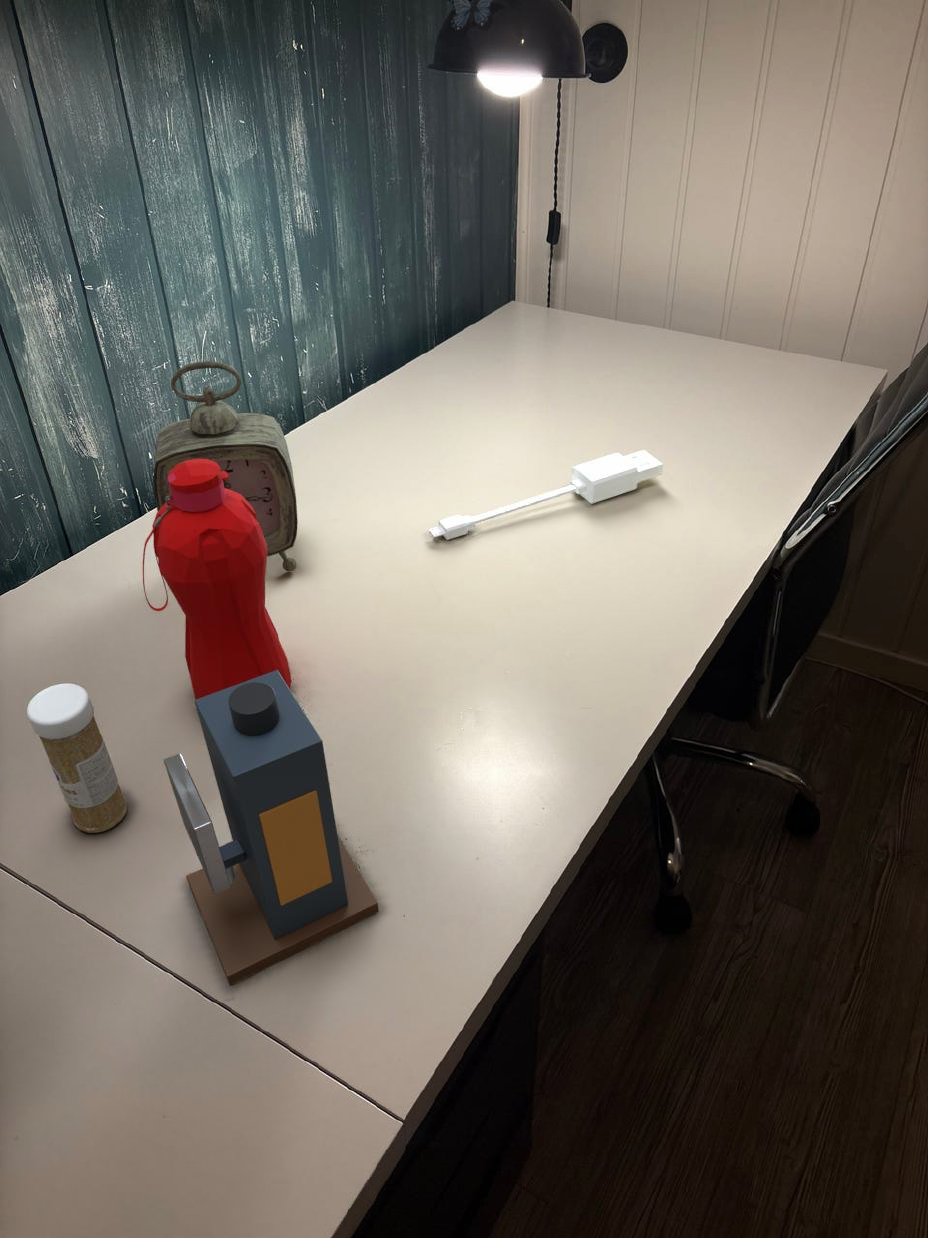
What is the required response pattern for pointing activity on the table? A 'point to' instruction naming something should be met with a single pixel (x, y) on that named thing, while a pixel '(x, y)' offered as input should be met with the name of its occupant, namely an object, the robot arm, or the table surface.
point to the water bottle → (216, 579)
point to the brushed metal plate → (197, 823)
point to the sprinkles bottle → (78, 756)
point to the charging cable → (572, 488)
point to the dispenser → (273, 832)
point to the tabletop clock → (234, 458)
